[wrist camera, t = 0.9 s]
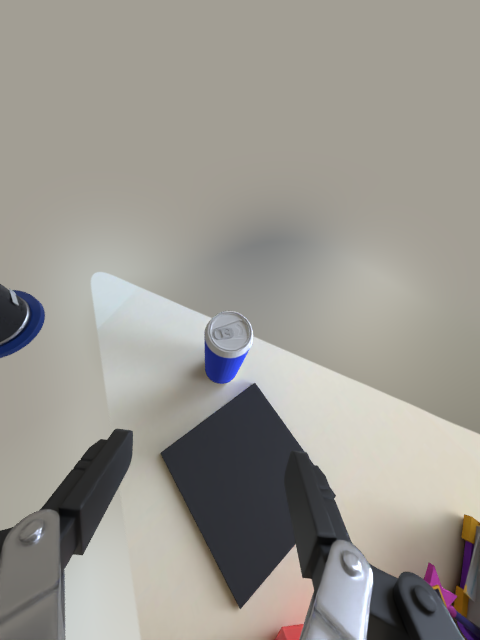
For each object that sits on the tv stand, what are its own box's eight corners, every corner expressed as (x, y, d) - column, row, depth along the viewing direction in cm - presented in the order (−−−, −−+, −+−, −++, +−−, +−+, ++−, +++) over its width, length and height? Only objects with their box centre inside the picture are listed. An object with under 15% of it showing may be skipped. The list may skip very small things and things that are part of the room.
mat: (239, 605, 24) (240, 609, 24) (161, 452, 30) (160, 453, 29) (333, 494, 30) (336, 496, 30) (254, 383, 35) (255, 382, 35)
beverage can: (232, 349, 37) (247, 304, 24) (240, 379, 35) (261, 348, 22) (202, 356, 36) (199, 313, 23) (208, 388, 34) (210, 360, 21)
